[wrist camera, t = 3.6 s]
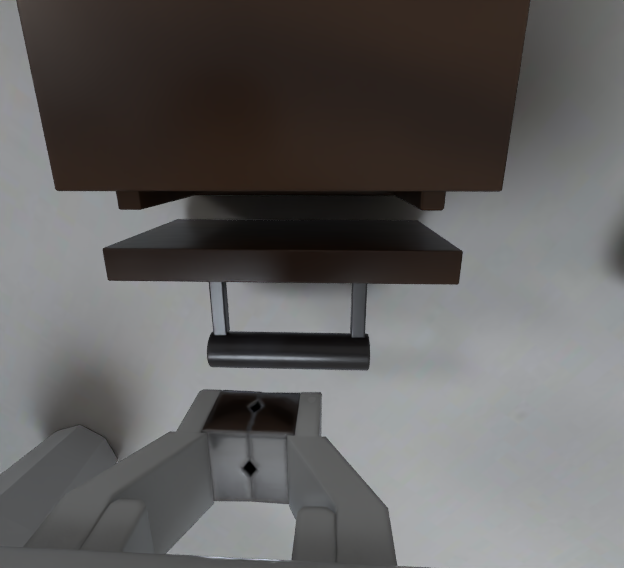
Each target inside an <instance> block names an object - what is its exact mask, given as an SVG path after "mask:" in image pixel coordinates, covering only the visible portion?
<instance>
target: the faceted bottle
mask: <svg viewBox="0 0 624 568" xmlns="http://www.w3.org/2000/svg"><path fill="white" fill-rule="evenodd" d="M116 461H117V457H116V456H115V454H114V452H113V451H112V449H111V447H110V446H109V444H108V442H107V441H106V439H105V438H104V437H102V436H100V435H98V434H96V433H95V432H93V431H91V430H89V429H87V428H85V427H83V426H81V425H77V426H74V427H70V428H66V429H63V430H59V431H56V432H55V433H53V434H52V435H51V436H49V437H48V438H47V439H46V440H44V441H43V442H42V443H40V444H39V445H38V446H37V447H35V448H34V449H33V450H31V451H30V452H29V453H28V454H26V455H25V456H24V457H22V458H21V459H20V460H19V461H17V462H16V463H15V464H13V465H12V466H11V467H10V468H8V469H7V470H6V471H4V472H3V473H2V474H1V475H0V546H10V547H23V546H24V545H25V544H26V543H27V541H28V540H29V539H30V538H31V536H32V535H33V534H34V533H35V531H36V530H37V529H38V528H39V526H40V525H41V524H42V523H43V521H44V520H45V519H46V518H47V516H48V515H49V514H50V513H51V512H52V510H53V509H54V508H55V507H56V505H57V504H58V503H59V502H60V500H61V499H62V498H63V497H64V495H65V494H66V493H68V492H70V491H71V490H73V489H75V488H76V487H78V486H80V485H81V484H83V483H85V482H86V481H88V480H90V479H91V478H93V477H95V476H96V475H98V474H100V473H101V472H103V471H105V470H106V469H108V468H110V467H111V466H113V465H115V463H116Z"/></svg>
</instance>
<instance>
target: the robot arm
mask: <svg viewBox="0 0 624 568" xmlns="http://www.w3.org/2000/svg"><path fill="white" fill-rule="evenodd" d="M321 420H322V394H321V392H301V393H265V392H254V391H234V390H208V389H203V390H201V391H200V392H199V393H198V395H197V397H196V398H195V400H194V402H193V403H192V405H191V407H190V409H189V410H188V412H187V414H186V415H185V417H184V419H183V421H182V422H181V424H180V426H179V427H178V429H177V431H176V432H168V433H167V434H165V435H163V436H162V437H160V438H158V439H157V440H155V441H153V442H152V443H150V444H148V445H147V446H145V447H143V448H142V449H140V450H138V451H137V452H135V453H133V454H132V455H130V456H128V457H127V458H125V459H123V460H121V461H120V462H118V463H116V464H115V465H113V466H111V467H110V468H108V469H106V470H105V471H103V472H101V473H100V474H98V475H96V476H95V477H93V478H91V479H90V480H88V481H86V482H85V483H83V484H81V485H80V486H78V487H76V488H75V489H73V490H71V491H70V492H68V493H66V494H65V495H64V497H63V498H62V499H61V500H60V502H59V503H58V504H57V505H56V507H55V508H54V509H53V510H52V512H51V513H50V514H49V515H48V516H47V518H46V519H45V520H44V521H43V523H42V524H41V525H40V526H39V528H38V529H37V530H36V531H35V533H34V534H33V535H32V536H31V538H30V539H29V540H28V541H27V543H26V544H25V545H24V546H23V547H10V546H0V568H429V567H407V566H397V561H396V555H395V549H394V543H393V536H392V530H391V524H390V518H389V512H388V508H387V507H386V505H385V504H384V503H383V502H382V501H381V500H380V498H379V497H378V496H377V495H376V494H375V493H374V492H373V490H372V489H371V488H370V487H369V486H368V485H367V484H366V482H365V481H364V480H363V479H362V478H361V477H360V476H359V474H358V473H357V472H356V471H355V470H354V469H353V467H352V466H351V465H350V464H349V463H348V462H347V461H346V459H345V458H344V457H343V456H342V455H341V454H340V453H339V451H338V450H337V449H336V448H335V447H334V446H333V445H332V443H331V442H330V441H329V440H328V439H327V438H326V437H321ZM214 501H252V502H266V503H280V504H289V507H290V509H291V511H292V513H293V515H294V517H295V519H296V527H295V536H294V544H293V553H292V560H273V559H254V558H233V557H213V556H192V555H172V554H166V553H167V552H168V551H169V550H170V549H171V548H172V547H173V546H174V545H175V544H176V542H177V541H178V540H179V539H180V538H181V537H182V536H183V535H184V534H185V533H186V532H187V531H188V530H189V529H190V528H191V527H192V526H193V525H194V524H195V523H196V522H197V521H198V520H199V518H200V517H201V516H202V515H203V514H204V513H205V512H206V511H207V510H208V509H209V508H210V507H211V506H212V505H213V504H214Z"/></svg>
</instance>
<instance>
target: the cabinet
mask: <svg viewBox="0 0 624 568" xmlns="http://www.w3.org/2000/svg"><path fill="white" fill-rule="evenodd" d="M16 1H17V6H18V11H19V16H20V21H21V25H22V30H23V35H24V40H25V45H26V49H27V54H28V59H29V64H30V69H31V74H32V78H33V83H34V88H35V93H36V98H37V102H38V107H39V112H40V117H41V122H42V127H43V131H44V136H45V141H46V146H47V151H48V155H49V160H50V165H51V170H52V175H53V179H54V184H55V189H56V190H57V191H472V192H499V191H501V190H502V186H503V180H504V173H505V166H506V160H507V153H508V146H509V140H510V133H511V126H512V120H513V113H514V106H515V100H516V93H517V86H518V80H519V73H520V66H521V60H522V53H523V46H524V40H525V33H526V26H527V20H528V13H529V6H530V0H16Z"/></svg>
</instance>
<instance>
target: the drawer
mask: <svg viewBox="0 0 624 568" xmlns="http://www.w3.org/2000/svg"><path fill="white" fill-rule="evenodd" d="M116 194H117V200H118V206H119V209H121V210H141V209H145V208H148V207H152V206H156V205H160V204H164V203H168V202H171V201H175V200H179V199H183V198H187V197H190V196H194V195H318V196H396V197H398V198H400V199H402V200H404V201H406V202H407V203H409V204H411V205H413V206H415V207H417V208H418V209H420V210H443V209H444V204H445V195H446V191H116ZM462 254H463V252H462V250H460V249H459V248H457V247H456V246H454V245H453V244H451V243H450V242H448V241H447V240H445V239H444V238H443V237H441V236H440V235H438V234H437V233H435V232H434V231H432V230H431V229H429V228H428V227H426V226H425V225H424V224H422V223H421V222H419V221H418V220H211V219H177V220H174V221H172V222H169V223H167V224H164V225H161V226H159V227H156V228H154V229H151V230H149V231H146V232H144V233H141V234H138V235H136V236H133V237H131V238H128V239H126V240H123V241H120V242H118V243H115V244H113V245H110V246H108V247H105V248H103V255H104V260H105V266H106V271H107V277H108V280H109V281H192V282H209V289H210V300H211V311H212V322H213V332H212V333H211V335H210V337H209V340H208V346H207V358H208V363H209V365H210V366H211V367H230V368H277V369H325V370H368V369H369V364H370V342H369V336H368V334H365V321H366V299H367V284H455V285H457V284H459V278H460V270H461V262H462ZM226 282H279V283H352V294H351V325H350V333H292V332H233V331H229V330H230V326H229V313H228V300H227V287H226Z"/></svg>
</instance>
